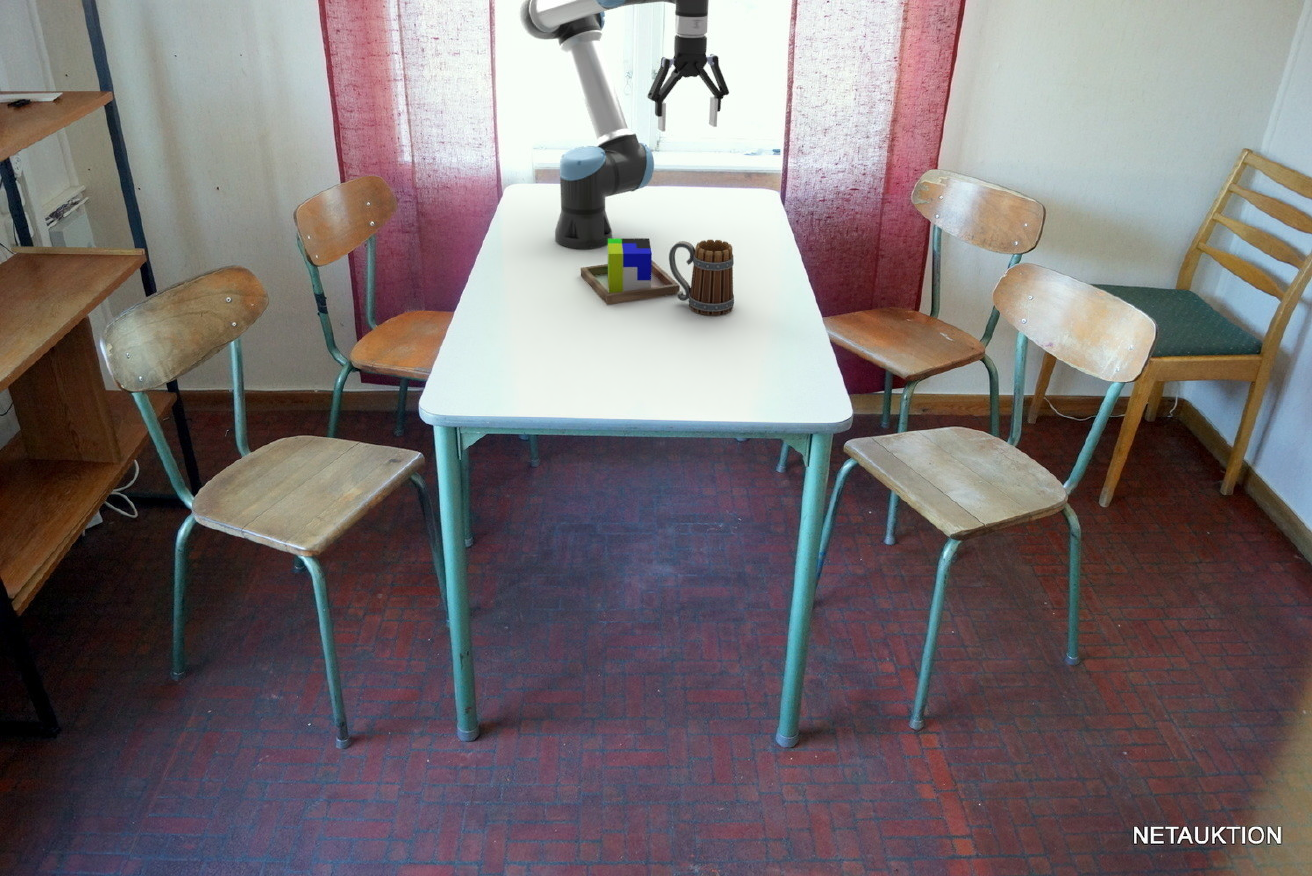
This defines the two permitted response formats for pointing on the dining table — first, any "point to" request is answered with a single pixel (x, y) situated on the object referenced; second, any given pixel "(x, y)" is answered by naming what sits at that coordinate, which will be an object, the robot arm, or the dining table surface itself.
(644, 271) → the puzzle toy
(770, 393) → the dining table surface
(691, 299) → the mug
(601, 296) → the square wooden frame
